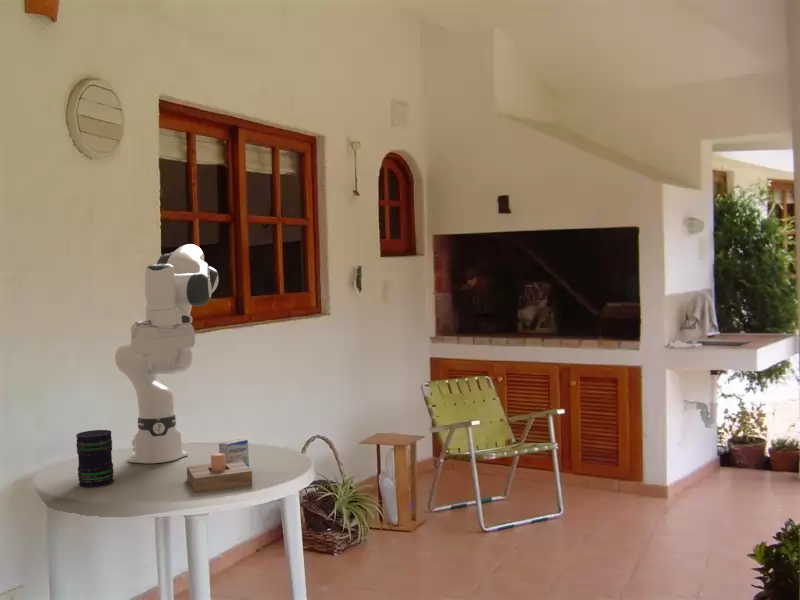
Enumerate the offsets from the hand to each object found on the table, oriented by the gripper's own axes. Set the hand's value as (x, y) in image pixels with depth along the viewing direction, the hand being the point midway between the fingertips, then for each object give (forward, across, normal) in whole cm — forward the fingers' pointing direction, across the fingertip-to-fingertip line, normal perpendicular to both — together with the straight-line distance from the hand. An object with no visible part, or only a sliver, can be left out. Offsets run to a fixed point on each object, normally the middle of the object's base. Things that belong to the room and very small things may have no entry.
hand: (164, 366), depth 245 cm
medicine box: (+34, +19, -6) cm, 40 cm away
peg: (+34, +6, -14) cm, 37 cm away
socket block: (+34, +6, -14) cm, 37 cm away
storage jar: (+34, -14, +17) cm, 40 cm away
